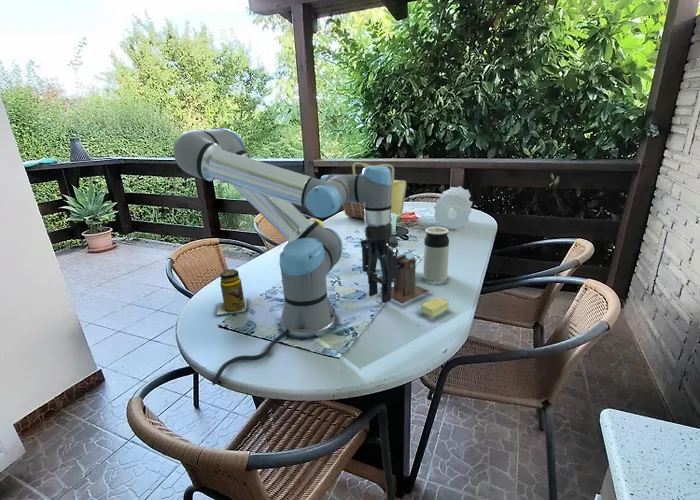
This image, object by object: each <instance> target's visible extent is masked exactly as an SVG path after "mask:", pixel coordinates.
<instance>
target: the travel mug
mask: <svg viewBox="0 0 700 500" xmlns="http://www.w3.org/2000/svg"><path fill="white" fill-rule="evenodd" d="M424 231H425V233H426V235H425V237H424V241H423V273H422V274H423V275H422V277H423V278H424V279H425V280H426V281H430V282H438V283H439V282H444V281H446V280H447V279H448V271H449V269H448V268H449V249H450V239H449V236H448V233H449V232H450V231H449V228H447V227H444V228H443V226H429V227H427V228H425V230H424Z"/></svg>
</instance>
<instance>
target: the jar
mask: <svg viewBox="0 0 700 500" xmlns="http://www.w3.org/2000/svg"><path fill="white" fill-rule="evenodd" d="M390 244H391V247H392V248H394V249H396V248H397V249H398V250H399V247H398V245H399V242H398V238H397V237H395V236H394V235H393V236H391V237H390ZM383 256H385V255H383ZM397 256H399V253H398V254H397ZM376 271H382V270H381V265H380V260H378V259H377V265H376Z"/></svg>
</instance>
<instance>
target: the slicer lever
mask: <svg viewBox="0 0 700 500" xmlns="http://www.w3.org/2000/svg"><path fill="white" fill-rule="evenodd" d="M408 259H409V258H408V257H407V256H406V257H404V258H403V259H401V260H399V261H398V262H399V265H397V271H398V270H399V269H401V268H402V269H403V261H405V260H408ZM371 279H372V280H374V281H376V282H377V284H380V285H382V282H383V281H384V280H383V275H382V274H381V275H380V276H377V277H376V276H374V275H373V276H372V277H371Z"/></svg>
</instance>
